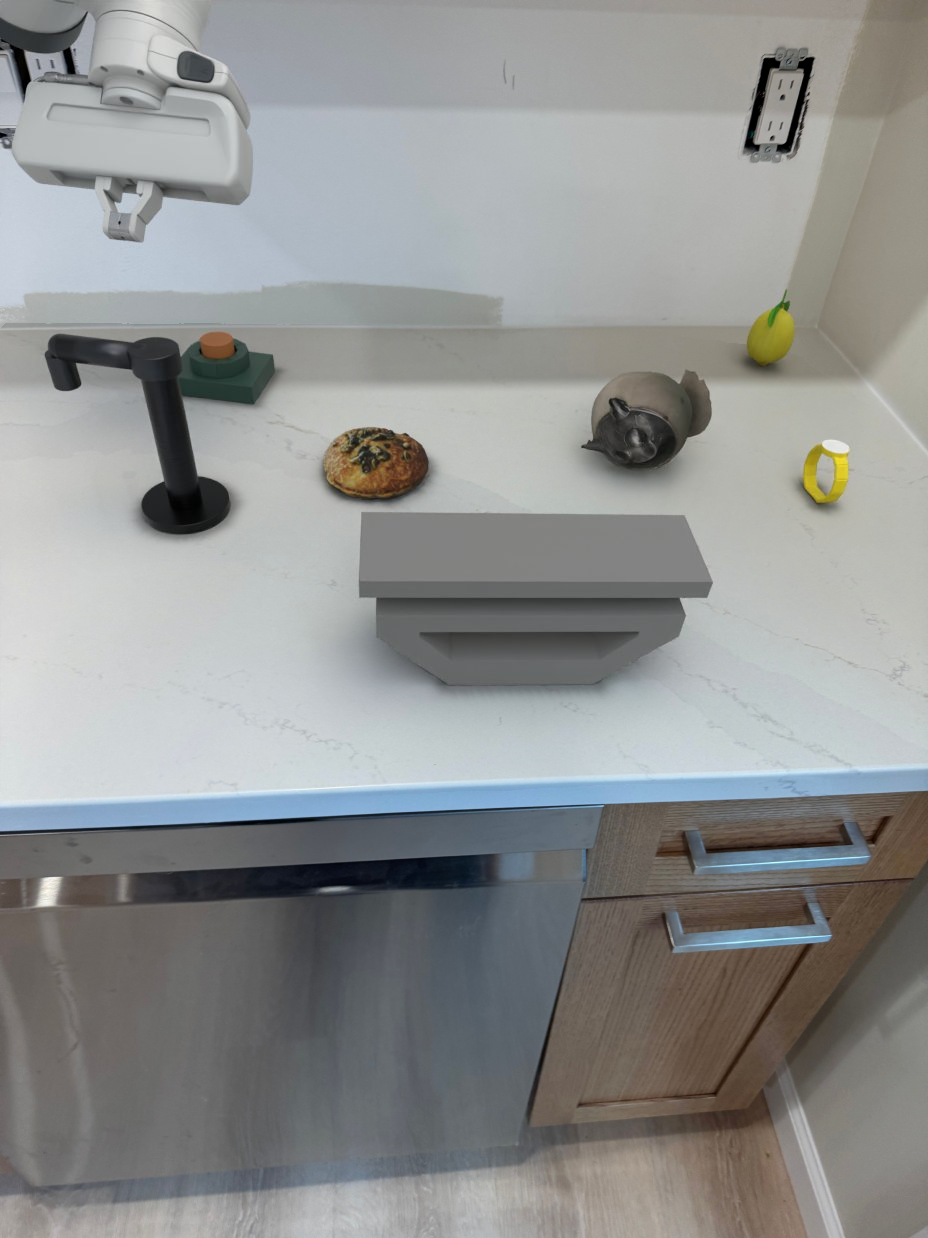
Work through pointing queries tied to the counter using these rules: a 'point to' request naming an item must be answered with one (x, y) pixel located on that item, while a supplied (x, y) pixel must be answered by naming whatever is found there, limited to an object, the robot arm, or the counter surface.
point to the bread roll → (375, 463)
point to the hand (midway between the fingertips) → (122, 237)
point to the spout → (111, 358)
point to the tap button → (217, 345)
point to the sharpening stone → (528, 591)
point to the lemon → (771, 334)
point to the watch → (839, 455)
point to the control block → (225, 374)
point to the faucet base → (189, 516)
